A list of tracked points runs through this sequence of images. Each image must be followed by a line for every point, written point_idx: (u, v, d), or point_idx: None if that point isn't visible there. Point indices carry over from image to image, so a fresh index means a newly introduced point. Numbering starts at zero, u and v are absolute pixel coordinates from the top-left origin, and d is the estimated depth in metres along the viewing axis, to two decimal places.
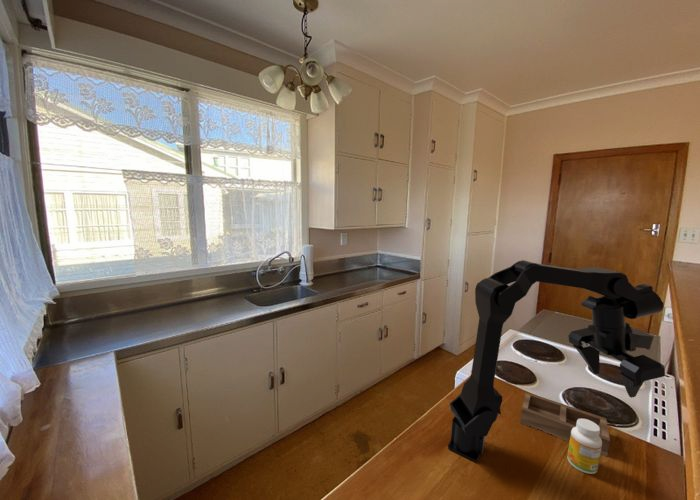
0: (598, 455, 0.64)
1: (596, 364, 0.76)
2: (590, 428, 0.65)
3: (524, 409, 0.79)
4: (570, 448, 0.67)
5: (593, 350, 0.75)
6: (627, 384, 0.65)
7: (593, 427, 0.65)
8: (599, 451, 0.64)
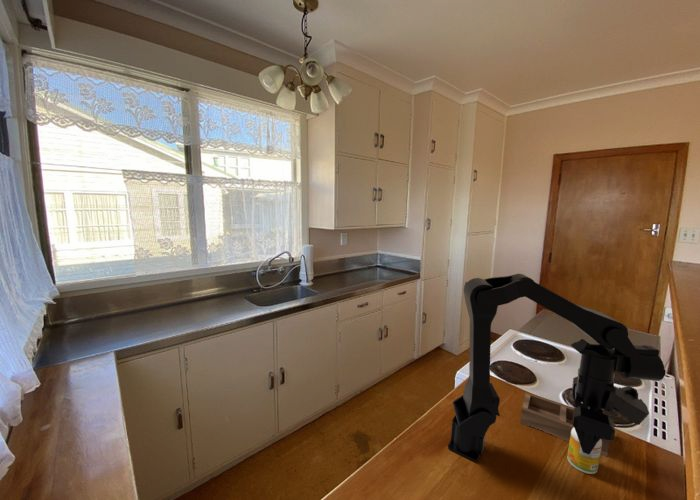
0: (598, 455, 0.64)
1: None
2: None
3: (524, 409, 0.79)
4: (570, 448, 0.67)
5: None
6: (576, 432, 0.62)
7: None
8: (599, 451, 0.64)
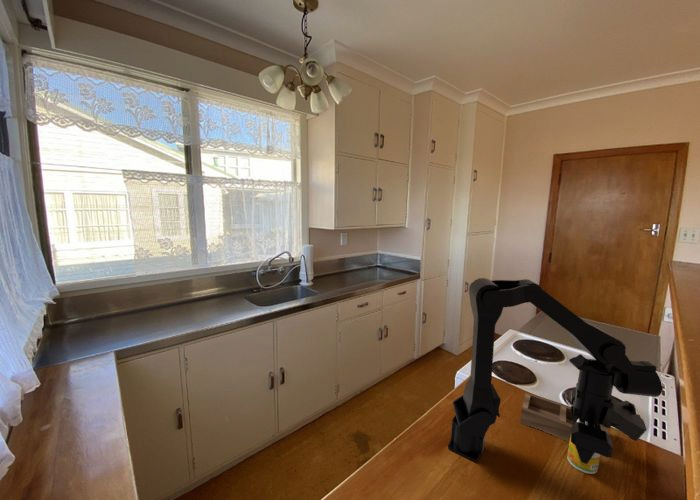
0: (598, 455, 0.64)
1: None
2: None
3: (524, 409, 0.79)
4: (570, 448, 0.67)
5: None
6: None
7: None
8: None
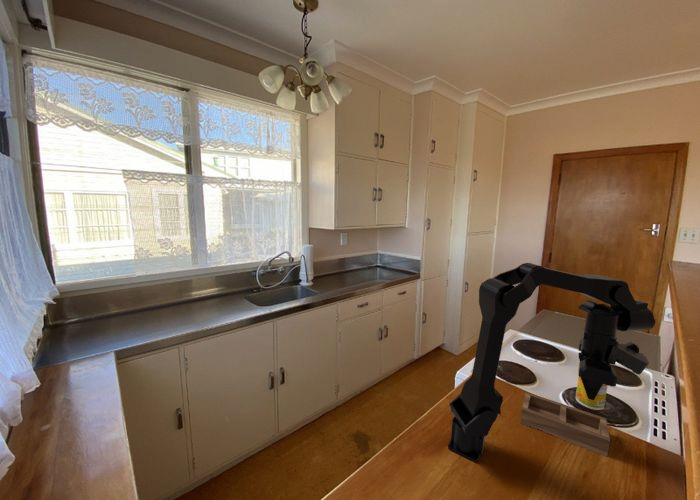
0: (604, 392, 0.69)
1: None
2: None
3: (524, 409, 0.79)
4: (578, 388, 0.73)
5: None
6: None
7: None
8: (605, 388, 0.69)
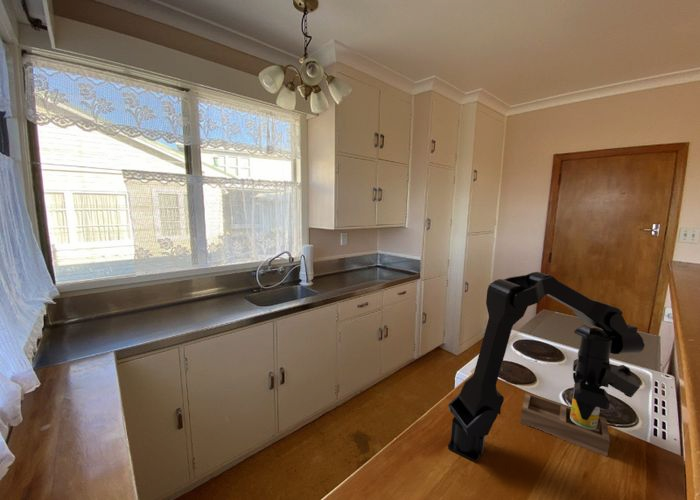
0: (597, 412, 0.73)
1: None
2: None
3: (524, 409, 0.79)
4: (572, 407, 0.76)
5: None
6: (576, 401, 0.73)
7: None
8: (598, 409, 0.72)
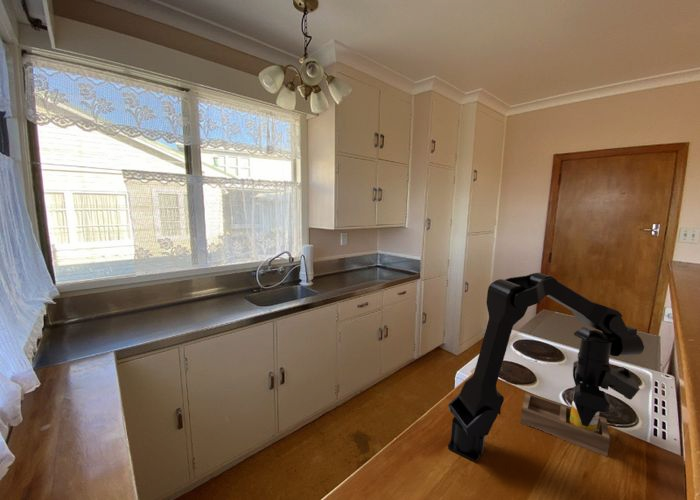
0: (596, 422, 0.73)
1: None
2: None
3: (524, 409, 0.79)
4: (571, 417, 0.76)
5: None
6: (576, 407, 0.71)
7: None
8: (597, 419, 0.73)
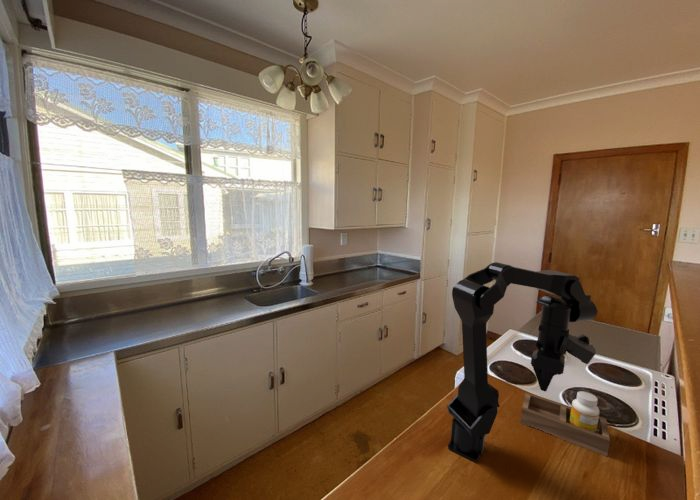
0: (596, 422, 0.73)
1: None
2: (589, 398, 0.74)
3: (524, 409, 0.79)
4: (571, 417, 0.76)
5: None
6: (535, 372, 0.72)
7: (591, 398, 0.74)
8: (597, 419, 0.73)
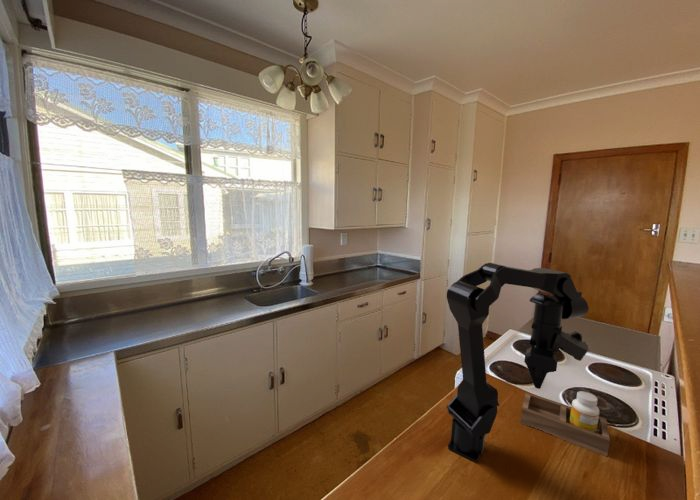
0: (596, 422, 0.73)
1: None
2: (589, 398, 0.74)
3: (524, 409, 0.79)
4: (571, 417, 0.76)
5: None
6: None
7: (591, 398, 0.74)
8: (597, 418, 0.73)
